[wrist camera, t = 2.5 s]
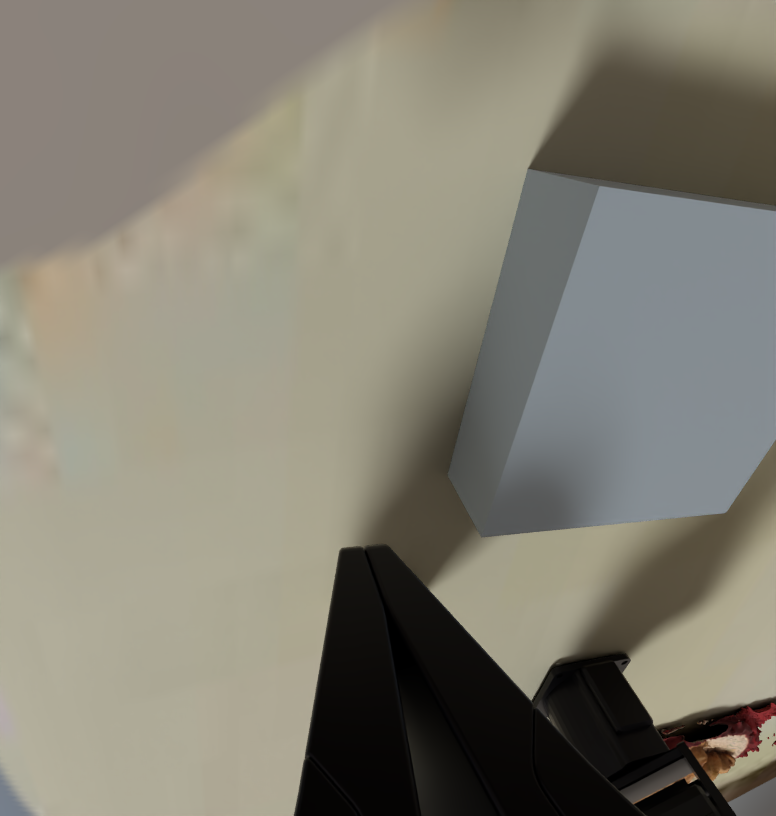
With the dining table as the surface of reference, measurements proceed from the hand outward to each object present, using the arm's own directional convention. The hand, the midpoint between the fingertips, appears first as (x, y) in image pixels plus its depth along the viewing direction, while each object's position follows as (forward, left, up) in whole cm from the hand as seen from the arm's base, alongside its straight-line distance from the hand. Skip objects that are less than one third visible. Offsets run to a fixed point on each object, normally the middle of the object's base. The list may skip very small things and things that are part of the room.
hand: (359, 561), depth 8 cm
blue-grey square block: (0, -12, -9) cm, 16 cm away
